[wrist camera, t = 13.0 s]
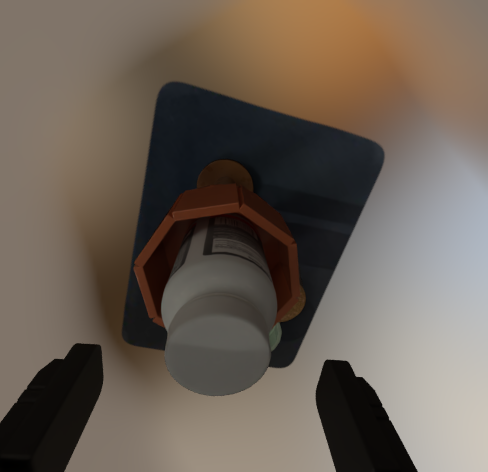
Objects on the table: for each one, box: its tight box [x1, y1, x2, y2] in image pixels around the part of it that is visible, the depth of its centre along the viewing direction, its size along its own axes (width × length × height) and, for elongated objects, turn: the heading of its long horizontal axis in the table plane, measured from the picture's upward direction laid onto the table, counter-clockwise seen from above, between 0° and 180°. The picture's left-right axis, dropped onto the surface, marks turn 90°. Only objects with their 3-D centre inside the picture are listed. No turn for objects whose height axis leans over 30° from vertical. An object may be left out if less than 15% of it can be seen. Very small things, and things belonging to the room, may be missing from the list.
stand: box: [197, 159, 253, 192], centre depth 29 cm, size 7×7×18 cm
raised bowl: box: [134, 183, 300, 328], centre depth 18 cm, size 9×9×5 cm
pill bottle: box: [161, 213, 277, 396], centre depth 15 cm, size 5×5×10 cm
